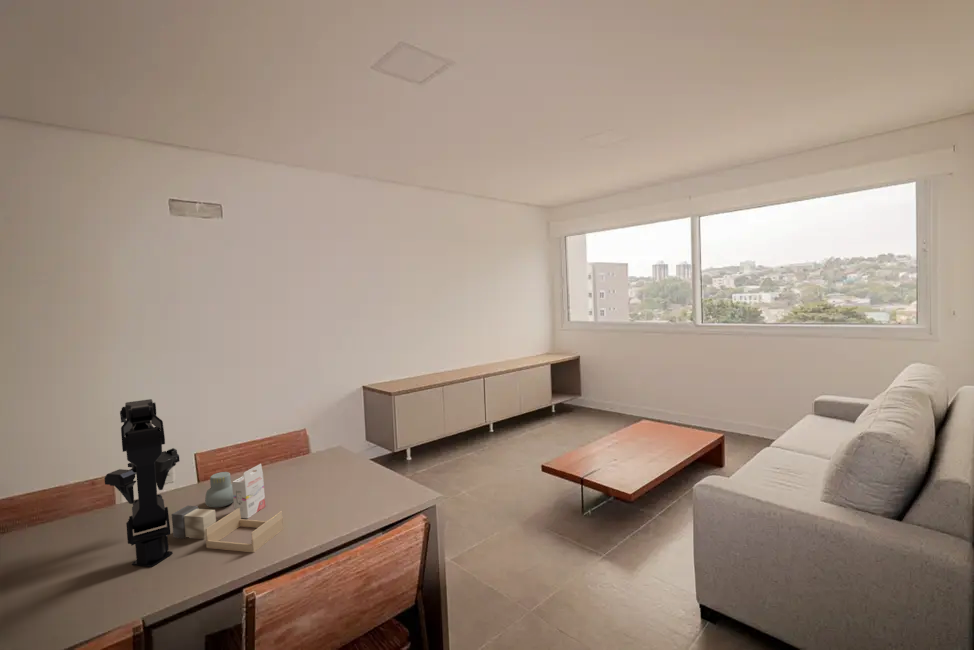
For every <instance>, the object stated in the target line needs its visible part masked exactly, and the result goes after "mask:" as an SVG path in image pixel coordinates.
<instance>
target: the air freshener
mask: <svg viewBox="0 0 974 650" xmlns="http://www.w3.org/2000/svg"><path fill="white" fill-rule="evenodd" d="M231 479H232V478H231V473H230V472H229V471H221V472H216V473H214V474H212V475H211V476H210V478H209V481H210V482H209V483H210V488H209V489H207V490H206V493H205V502H204V503H205V505H206V507H210V508H213V509H216V508H223V507H227V506H229V505H231V504H232V503H233V504H234V500H233V489H232V480H231Z"/></svg>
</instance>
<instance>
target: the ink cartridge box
mask: <svg viewBox="0 0 974 650" xmlns="http://www.w3.org/2000/svg"><path fill="white" fill-rule="evenodd" d="M231 484H232V489H233V500H234V502H233V511H235V510H236V509H238V508H240V514H241V519H249V518H251V517H252V516H254V515H255V514H256V513H259V511H261V510H262V509H264V508H265V507H266V497H265V483H264V472H263V467H262V463H259V464H257V465H256V466H253V467H252V468H250V469H248V470H246V471H244V472H243V475H242V476H241V477H239V478H237V479H234V480H233V481H231Z"/></svg>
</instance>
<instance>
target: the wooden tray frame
mask: <svg viewBox="0 0 974 650" xmlns="http://www.w3.org/2000/svg"><path fill="white" fill-rule="evenodd" d="M240 527H242V528H243V527H245V528H256V529H254V530H253V531H251V532H250V535H251V541H250V542H251V543H244V542H232V541H223V538H225V537H227V536H228V535H230V534H232V532H234V531H236V530H237V529H238V528H240ZM284 529H285V528H284V517H283V510H280V511H279V512H278V513H276V514H275V515H274V516H273V517H271V518H269V519H268V520H256V519H247V518H241V514H240V508H238V509H236V510H235V511H234V510H233V511H231V512H230V513H228V514H227V515H225V516H223V517H222V518H220V519H219V520H216V522H215V523H214V524H212V525H211V526H209V527H207V528H206V539H205V542H206V543H205V545H206V549H215V550H225V551H235V552H245V553H255V552H257V551H258V550H259V549H260V548H262V547H263V546H265V544H267V542H270V540H272V539H273V538H274V537H276V535H278V534H279V533H280V532H282V531H283V530H284Z"/></svg>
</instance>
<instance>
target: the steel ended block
mask: <svg viewBox="0 0 974 650" xmlns="http://www.w3.org/2000/svg"><path fill="white" fill-rule="evenodd" d="M216 516H217V515H216V509H207V508H206V509H205V508H199V506H197V505H186V506H184V507H183V508H180V509H179V510H177V511H175V512H174V513H172V514H171V521H172V522H171V524H172V534H173V535H172V536H173V538H174V537H177V538H176V539H183V538H184V539H186V538H185V537H189V538H188V539H197V540H198V539H199V540H206V528H207V527H209V526H211V525H212V524H214V523H215V522H217V517H216Z"/></svg>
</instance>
